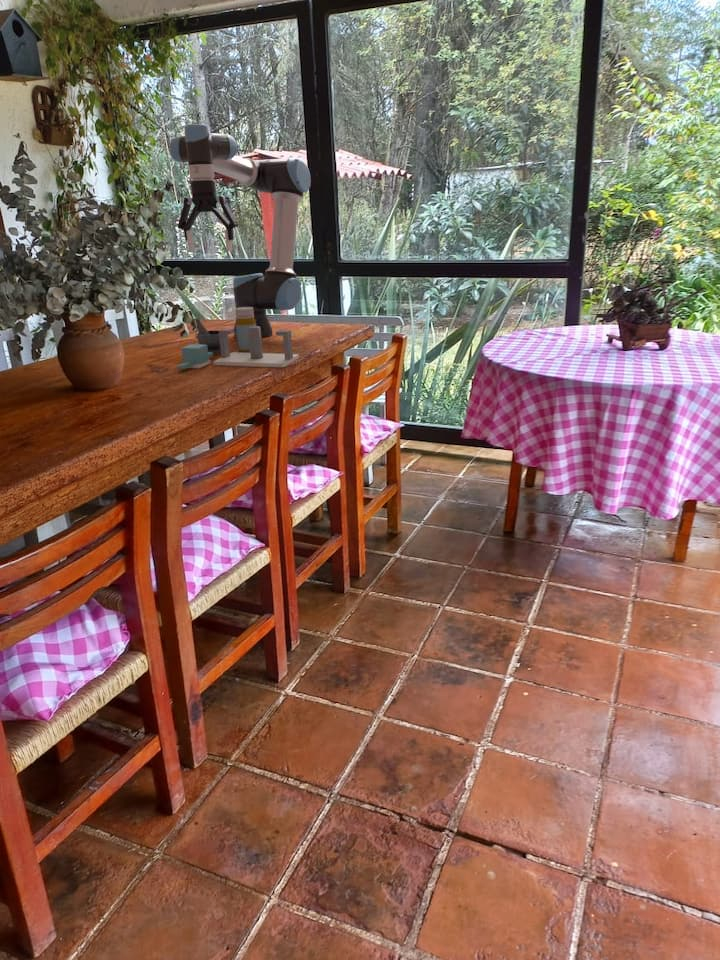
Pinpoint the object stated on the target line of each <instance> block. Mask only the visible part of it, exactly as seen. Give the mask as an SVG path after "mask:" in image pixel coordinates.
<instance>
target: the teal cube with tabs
mask: <svg viewBox="0 0 720 960" xmlns="http://www.w3.org/2000/svg"><path fill="white" fill-rule="evenodd" d="M181 355H182V361H183V362H182V363H180V364H178V369H179V370H185V369H189V368H188V367H190V366H192V365H194V364H199V365H200V364H202V363H205V362H207V361H209V360H210V358H212V357H213V356H214V354H213V352H208V348H207V345H201V344H194V343H192V344H188V345H186V346H183V347H181Z"/></svg>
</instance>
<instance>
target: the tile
mask: <svg viewBox="0 0 720 960" xmlns="http://www.w3.org/2000/svg"><path fill="white" fill-rule="evenodd" d="M211 361H212V360H211V359H209V361H207V362H205V363H202V364H200V365H199V364H194V365H192V366H190V367H188V368H187V369H201V368H202V367H205V366H207V365H209V364H211V363H212V362H211Z"/></svg>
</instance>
